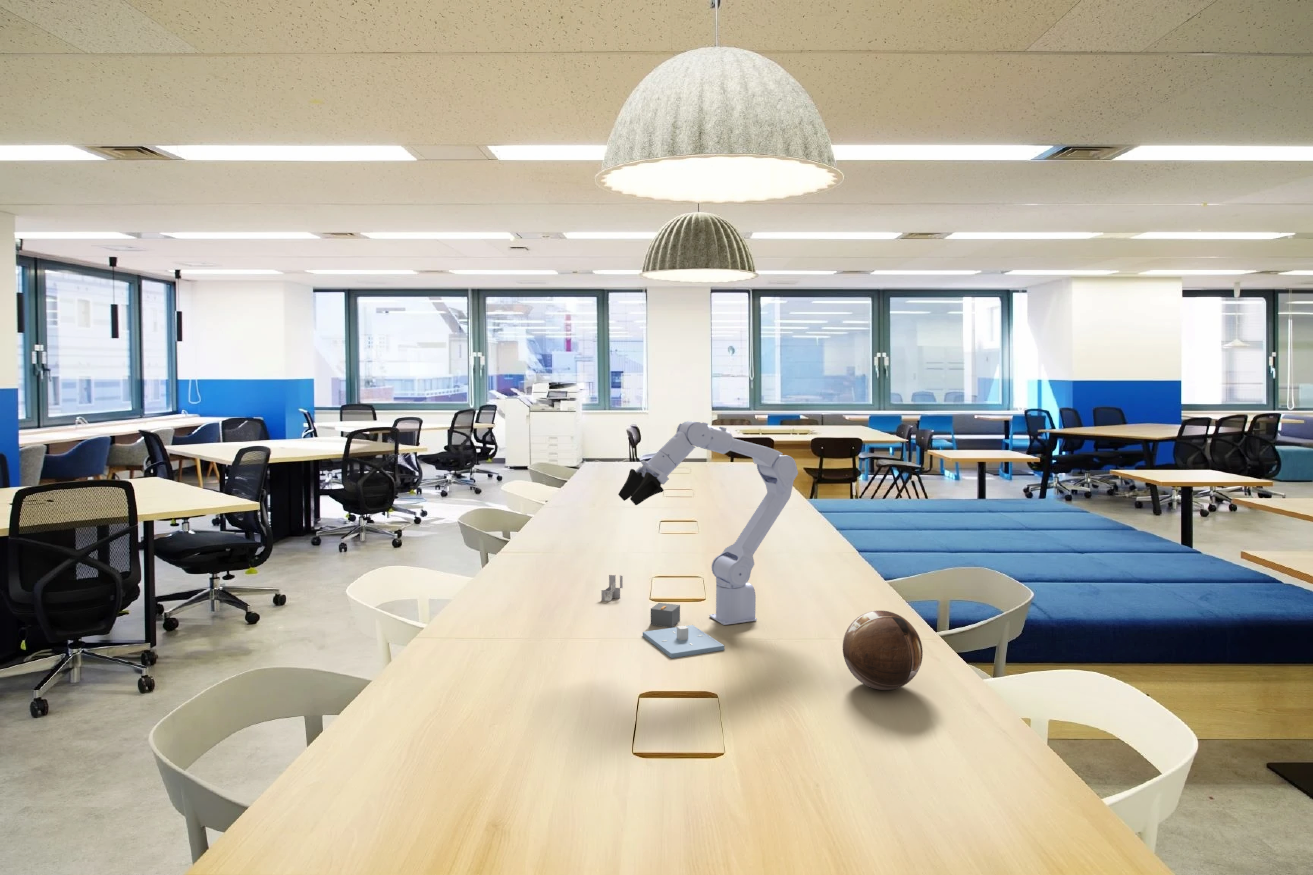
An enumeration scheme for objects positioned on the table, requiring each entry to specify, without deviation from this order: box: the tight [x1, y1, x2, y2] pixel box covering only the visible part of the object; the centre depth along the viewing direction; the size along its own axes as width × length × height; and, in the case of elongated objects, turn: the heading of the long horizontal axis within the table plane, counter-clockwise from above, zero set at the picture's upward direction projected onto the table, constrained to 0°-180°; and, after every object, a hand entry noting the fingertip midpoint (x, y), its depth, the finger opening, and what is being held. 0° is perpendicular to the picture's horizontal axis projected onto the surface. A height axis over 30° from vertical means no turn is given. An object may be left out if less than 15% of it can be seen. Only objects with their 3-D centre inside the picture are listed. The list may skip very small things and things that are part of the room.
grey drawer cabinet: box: [650, 602, 681, 628], centre depth 198 cm, size 6×6×4 cm
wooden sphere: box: [842, 610, 924, 691], centre depth 157 cm, size 15×15×15 cm
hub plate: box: [642, 624, 725, 659], centre depth 183 cm, size 13×16×4 cm
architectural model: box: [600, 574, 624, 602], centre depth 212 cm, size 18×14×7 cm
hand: (627, 499), depth 187 cm, fingers open, 7 cm apart
